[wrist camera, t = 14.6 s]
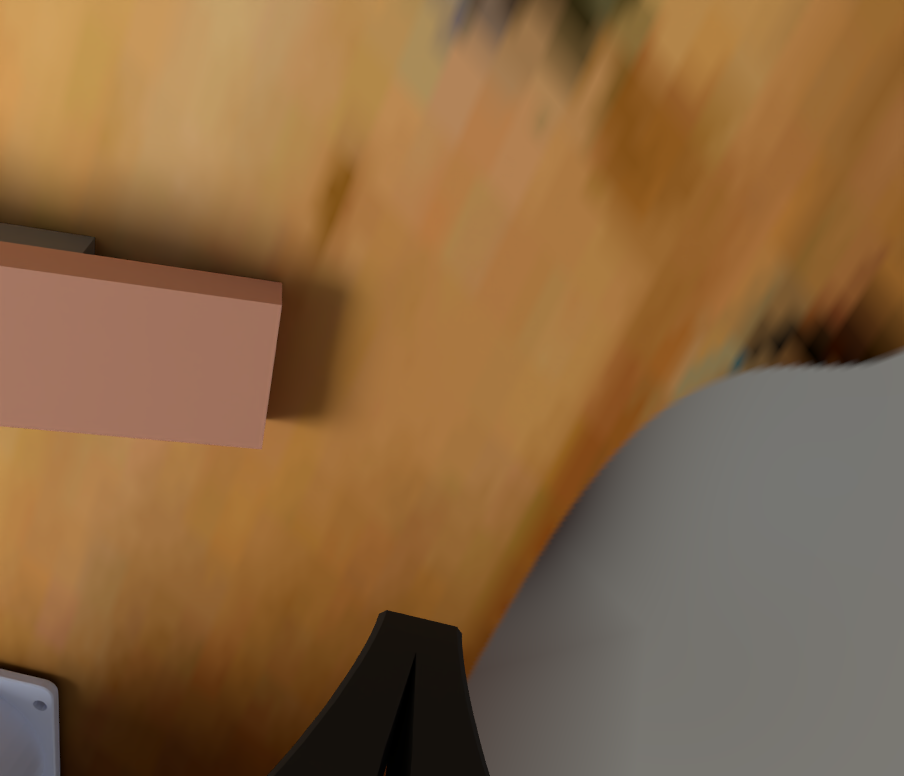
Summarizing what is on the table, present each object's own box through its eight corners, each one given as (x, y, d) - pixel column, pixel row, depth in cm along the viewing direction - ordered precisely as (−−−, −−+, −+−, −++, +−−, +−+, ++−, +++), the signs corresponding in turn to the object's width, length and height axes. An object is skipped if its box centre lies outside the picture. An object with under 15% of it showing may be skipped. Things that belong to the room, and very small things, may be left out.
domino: (261, 449, 21) (-64, 420, 19) (263, 420, 23) (-40, 389, 21) (281, 305, 19) (-77, 254, 17) (282, 282, 21) (-50, 233, 19)
